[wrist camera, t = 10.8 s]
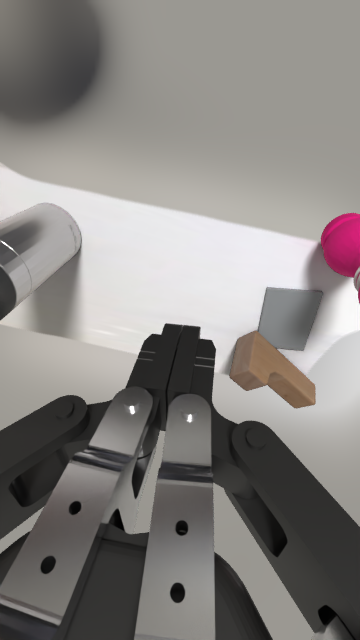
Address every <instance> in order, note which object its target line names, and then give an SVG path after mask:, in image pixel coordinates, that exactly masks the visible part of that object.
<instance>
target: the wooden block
mask: <svg viewBox="0 0 360 640" xmlns="http://www.w3.org/2000/svg"><path fill="white" fill-rule="evenodd" d="M229 376H230V378H231V379H232V380H233V381H234V382H236V383H237V384H238V385H239V386H240V387H242V388H243V389H244V390H246V391H249V390H252V389H255V388H259V387H262V386H265V385H268V386H269V387H270V388H272V389H273V390H274V391H275V392H276V393H277V394H279V395H280V396H281V397H282V398H283V399H284V400H285V401H287V402H288V403H289V404H290V405H291V406H293V407H294V408H300V407H305V406H310V405H314V404H315V385H314V384H313V383H312V382H311V381H310V380H309V379H308V378H307V377H306V376H305V375H304V374H303V373H302V372H301V371H299V370H298V369H297V368H296V367H295V366H294V365H293V364H292V363H291V362H290V361H289V360H288V359H287V358H285V357H284V356H283V355H282V354H281V353H280V352H279V351H278V350H277V349H276V348H275V347H274V346H273V345H272V344H270V343H269V342H268V341H267V340H266V339H265V338H264V337H263V336H262V335H261V334H260V333H259V332H258V331H253V332H251V333H249V334H247V335H245V336H242V337H240V338H239V339H238V340H237V345H236V349H235V353H234V358H233V362H232V367H231V371H230V375H229Z"/></svg>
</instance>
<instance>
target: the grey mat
mask: <svg viewBox="0 0 360 640" xmlns="http://www.w3.org/2000/svg"><path fill="white" fill-rule="evenodd" d="M322 295H323V292H322V291H309V290H296V289H284V288H271V287H267V290H266V294H265V299H264V304H263V309H262V314H261V319H260V324H259V328H258V332H259V333H260V334H261V335H262V336H263V337H264V338H265V339H266V340H267V341H268V342H269V343H270V344H272V345H273V346H274V347H275V348H282V349H292V350H302V351H304V348H305V345H306V342H307V339H308V336H309V333H310V330H311V327H312V324H313V321H314V318H315V315H316V313H317V310H318V307H319V304H320V301H321V298H322Z"/></svg>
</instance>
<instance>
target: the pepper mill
mask: <svg viewBox="0 0 360 640" xmlns="http://www.w3.org/2000/svg"><path fill="white" fill-rule="evenodd" d="M321 246H322V248H323V250H324V258H325V260H326V262H327V264H328V265H329V266H330V267H331V269H333V270H334V271H335V272H337V273H339V274H341V275H344V276H347V277H353V278H354V286H355V288H356V290H357V291H358V299H359V303H360V214H356V213H348V214H343V215H341V216H338V217H336V218H335V219H333V220H332V221H331V222H330V223H329V224H328V225H327V226H326V227H325V229H324V231H323V233H322V236H321Z"/></svg>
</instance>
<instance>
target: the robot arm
mask: <svg viewBox="0 0 360 640" xmlns="http://www.w3.org/2000/svg"><path fill="white" fill-rule="evenodd" d="M80 246H81V234H80V231H79V228H78V226H77V224H76V222H75V221H74V219H73V218H72V217H71V216H70V215H69V214H68V213H67V212H66V211H65V210H63V209H62V208H60V207H58V206H56V205H53V204H50V203H41V204H37V205H35V206H33V207H31V208H28V209H26V210H24V211H22V212H20V213H17V214H15V215H13V216H11V217H9V218H6V219H4V220H2V221H0V320H2V319H3V318H4V317H5V316H6V315H7V314H8V313H10V312H11V311H12V310H13V309H14V308H15V307H16V306H18V305H19V304H20V303H21V302H22V301H23V300H24V299H25V298H27V297H28V296H29V295H30V294H31V293H32V292H33V291H35V290H36V289H37V288H38V287H39V286H40V285H41V284H42V283H44V282H45V281H46V280H47V279H48V278H49V277H50V276H52V275H53V274H54V273H55V272H56V271H57V270H58V269H59V268H61V267H62V266H63V265H64V264H65V263H66V262H67V261H69V260H70V259H71V258H72V257H73V256H74V255H75V254H76V253H77V252H78V251H79V248H80ZM215 353H216V348H215V346H214V344H213V342H212V340H206V339H200V327H198V326H188V325H177V324H167V323H166V324H165V325H164V328H163V331H162V334H161V335H158V334H151V335H150V336H149V337H148V338H147V339H146V340H145V341H144V343H143V345H142V348H141V351H140V353H139V355H138V359H137V361H136V363H135V365H134V368H133V371H132V373H131V375H130V378H129V380H128V383H127V386H126V388H125V389H122V390H121V391H119V392H118V393H117V394H116V395H115V396H114V398H113V399H112V400H110V401H107V402H102V403H96V404H89V405H86V402H85V401H84V400H83V399H82V398H81V397H78V396H74V395H67V396H63V397H60V398H58V399H56V400H54V401H52V402H50V403H48V404H47V405H45V406H43V407H41V408H40V409H38V410H36V411H34V412H33V413H31V414H30V415H28V416H26V417H24V418H22V419H20V420H19V421H17V422H15V423H13V424H12V425H10V426H8V427H6V428H4V429H3V430H1V431H0V539H1V538H3V537H4V536H6V535H7V534H8V533H9V532H11V531H12V530H13V529H15V528H16V527H17V526H19V525H20V524H21V523H23V522H24V521H25V520H26V519H28V518H29V517H31V516H32V515H33V514H34V513H35V512H37V511H38V510H40V509H41V508H42V507H44V508H43V510H42V512H41V514H40V516H39V517H38V519H37V521H36V523H35V525H34V526H33V528H32V530H31V531H30V532H28V533H26V534H25V535H23V536H22V537H21V538H19V539H18V540H17V541H15V542H14V543H13V544H11V545H10V546H9V547H8V548H7V549H6V550H4V551H3V552H2V553H1V554H0V640H273V639H272V637H271V635H270V633H269V632H268V630H267V628H266V626H265V624H264V622H263V620H262V618H261V616H260V614H259V612H258V610H257V608H256V606H255V604H254V602H253V600H252V599H251V597H250V595H249V593H248V591H247V589H246V587H245V585H244V584H243V582H242V581H241V579H240V578H239V576H238V575H237V573H236V572H235V571H234V570H233V568H232V567H231V566H230V565H229V564H228V563H227V562H226V561H225V560H224V559H223V558H222V557H221V556H219V555H218V554H217V553H215V552H214V507H213V506H214V503H213V482H214V483H216V484H217V485H219V486H221V487H223V488H224V490H225V492H226V494H227V496H228V497H229V499H230V501H231V502H232V504H233V505H234V507H235V509H236V510H237V512H238V513H239V515H240V516H241V518H242V520H243V521H244V523H245V524H246V526H247V528H248V529H249V531H250V532H251V534H252V535H253V537H254V538H255V540H256V542H257V543H258V545H259V546H260V548H261V549H262V551H263V553H264V554H265V556H266V557H267V559H268V561H269V562H270V564H271V565H272V567H273V568H274V570H275V572H276V573H277V575H278V576H279V578H280V580H281V581H282V583H283V584H284V586H285V587H286V589H287V591H288V592H289V593H290V595H291V597H292V598H293V600H294V602H295V603H296V605H297V606H298V608H299V609H300V611H301V613H302V614H303V616H304V617H305V619H306V620H307V622H308V624H309V625H310V627H311V628H312V630H313V631H314V635H313V636H312V639H311V640H360V527H359V526H358V525H357V523H356V522H355V521H354V520H353V519H352V518H351V517H350V516H349V515H348V514H347V512H346V511H345V510H344V509H343V508H342V507H341V506H340V505H339V504H338V502H337V501H336V500H335V499H334V498H333V497H332V496H331V495H330V494H329V493H328V491H327V490H326V489H325V488H324V487H323V486H322V485H321V484H320V483H319V482H318V480H317V479H316V478H315V477H314V476H313V475H312V474H311V473H310V471H308V469H307V468H306V467H305V466H304V465H303V464H302V463H301V462H300V460H299V459H298V458H297V457H296V456H295V455H294V454H293V453H292V452H291V450H290V449H289V448H288V447H287V446H286V445H285V444H284V443H283V442H282V441H281V440H280V438H279V437H278V436H277V435H276V434H275V433H274V432H273V431H272V430H271V429H270V428H269V427H268V426H266V425H265V424H263V423H260V422H257V421H244V422H242V423H240V424H236V423H234V422H232V421H229V420H228V419H226V418H224V417H223V416H221V415H220V414H219V413H218V412H217V411H216V409H215V408H214V406H213V403H212V389H213V377H214V365H215ZM160 430H161V431H166V432H165V439H164V447H163V454H162V462H161V467H160V468H159V471H158V476H157V481H156V489H155V495H154V502H153V510H152V517H151V524H150V531H149V532H148V533H139V534H133V533H134V528H135V525H136V520H137V514H138V506H139V502H140V499H141V496H142V493H143V489H144V486H145V483H146V480H147V477H148V474H149V470H150V467H151V464H152V461H153V458H154V455H155V451H156V444H157V440H158V436H159V432H160ZM78 512H79V513H78Z"/></svg>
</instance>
